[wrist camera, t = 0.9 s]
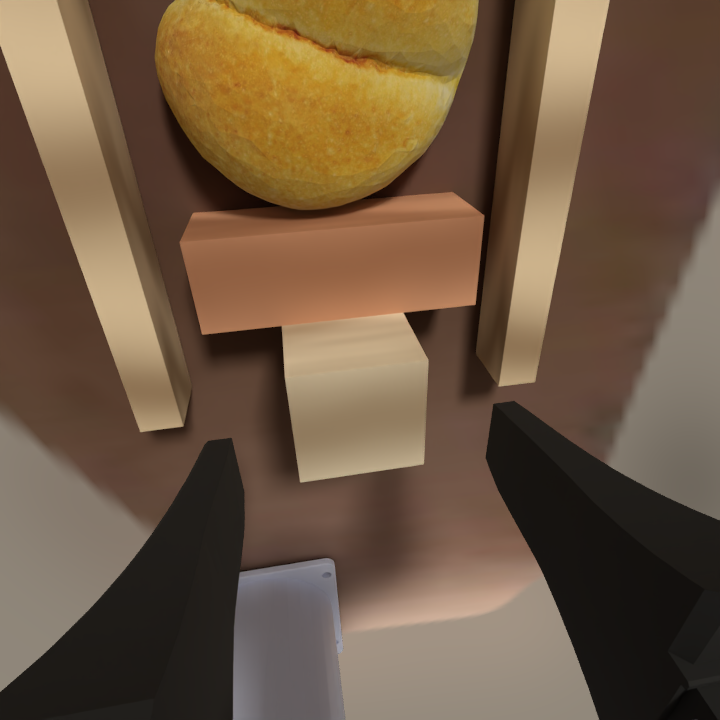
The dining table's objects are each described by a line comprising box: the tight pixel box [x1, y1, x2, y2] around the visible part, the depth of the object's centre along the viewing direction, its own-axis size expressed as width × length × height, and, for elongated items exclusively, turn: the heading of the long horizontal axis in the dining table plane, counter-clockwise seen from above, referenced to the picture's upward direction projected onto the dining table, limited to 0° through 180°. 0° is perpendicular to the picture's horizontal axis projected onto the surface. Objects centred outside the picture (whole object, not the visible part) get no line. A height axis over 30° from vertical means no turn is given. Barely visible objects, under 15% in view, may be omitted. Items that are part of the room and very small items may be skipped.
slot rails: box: [0, 0, 609, 432], centre depth 15 cm, size 16×15×2 cm
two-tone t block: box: [180, 192, 484, 482], centre depth 16 cm, size 7×9×6 cm
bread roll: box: [155, 0, 479, 210], centre depth 13 cm, size 8×9×4 cm
